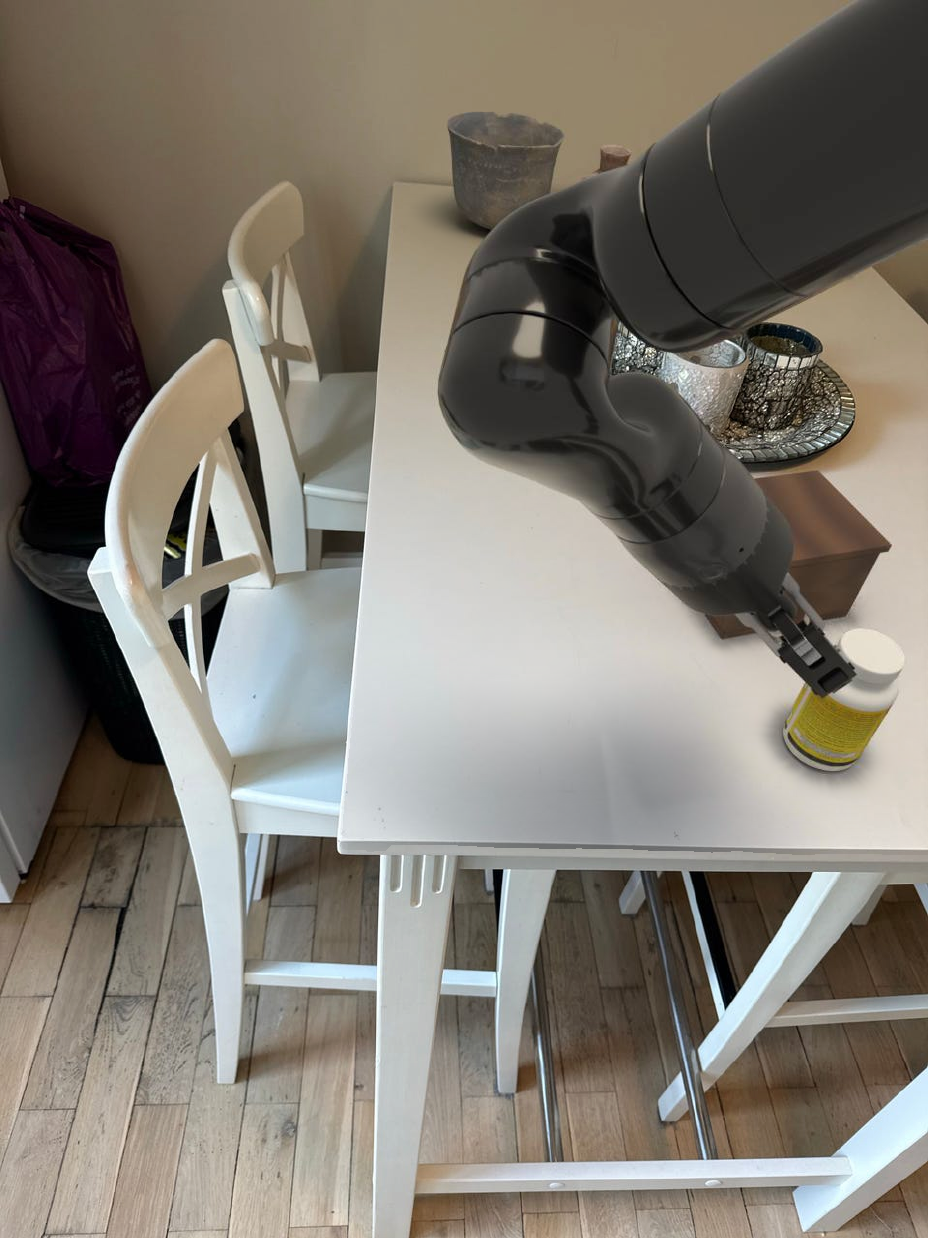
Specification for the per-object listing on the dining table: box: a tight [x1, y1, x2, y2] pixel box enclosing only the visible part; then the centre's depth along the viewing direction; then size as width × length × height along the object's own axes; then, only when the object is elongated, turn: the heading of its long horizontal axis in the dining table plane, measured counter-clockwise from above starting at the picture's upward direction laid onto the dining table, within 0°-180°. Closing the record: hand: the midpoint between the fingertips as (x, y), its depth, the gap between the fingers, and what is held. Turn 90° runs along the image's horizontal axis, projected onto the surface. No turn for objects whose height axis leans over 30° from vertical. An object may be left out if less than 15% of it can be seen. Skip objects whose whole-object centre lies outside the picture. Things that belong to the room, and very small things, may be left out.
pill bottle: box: [782, 627, 906, 772], centre depth 68 cm, size 6×6×11 cm
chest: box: [704, 553, 881, 640], centre depth 83 cm, size 14×12×8 cm
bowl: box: [446, 111, 565, 231], centre depth 141 cm, size 18×18×15 cm
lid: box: [753, 469, 893, 568], centre depth 80 cm, size 14×12×1 cm
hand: (802, 634), depth 60 cm, fingers open, 8 cm apart
